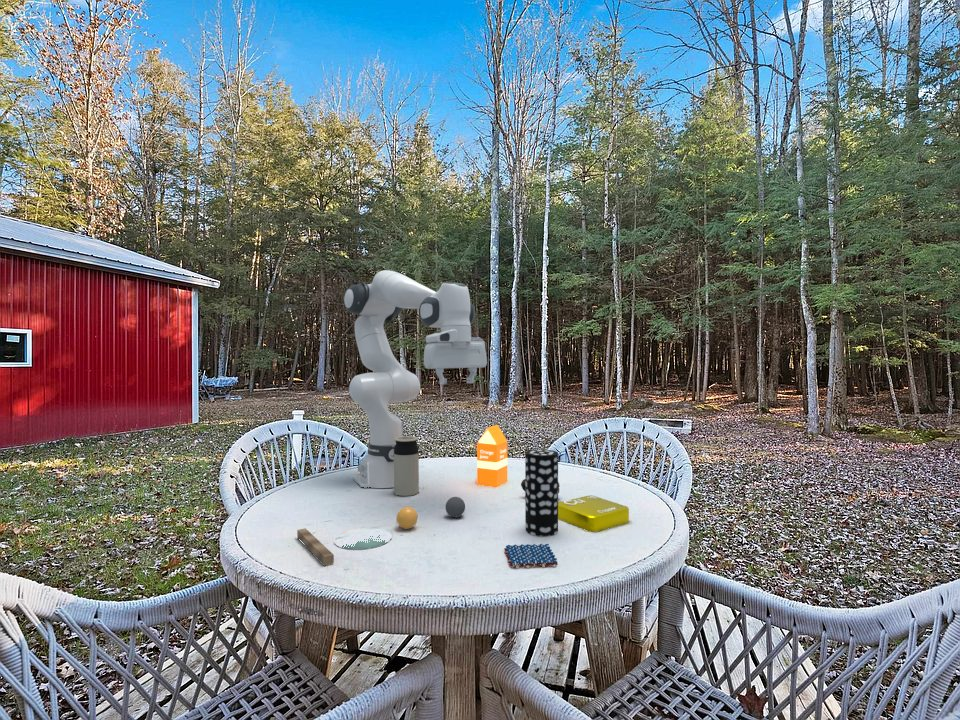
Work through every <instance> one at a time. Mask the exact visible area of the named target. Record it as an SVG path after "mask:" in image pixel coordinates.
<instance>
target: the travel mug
mask: <svg viewBox="0 0 960 720" xmlns="http://www.w3.org/2000/svg"><path fill="white" fill-rule="evenodd" d="M418 439H419V438H418V436H407V435H402V437H397V438H395V441H396V445H395V447H394V487H393V494H394V495H396V496H398V495H399V496H400V497H412V496H415V495H417V494H418V493H420V489H419V487H420V486H419V485H420V477H419V476H420V475H419V471H420V470H419V469H420V467H419V465H420V464H419V462H420V458H419V457H420V455H419V454H420V453H419V452H420V451H419V449H420V448H419V446H418V444H417V442H418Z"/></svg>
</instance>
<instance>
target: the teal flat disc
mask: <svg viewBox="0 0 960 720" xmlns="http://www.w3.org/2000/svg"><path fill="white" fill-rule="evenodd" d="M379 536H380V535H379ZM379 536H378V537H379ZM370 537H371V536H370ZM372 537H373V536H372ZM378 537H377V538H378ZM379 538H380V537H379ZM369 539H370V538H369ZM369 539H368V543H367V541H366V543H365V541H364V542H363V541H362V542H361V541H360V542H359V541H358V542H357V543H356V544H355V546H354V544H353V546H354V547H353V546H352V547H351V545H352V544H351V545H350V546H349V545H348V546H347V544H346V546H347V547H346V546H345V547H344V545H343V546H342V548H341V549H343V547H344V548H346V549H345V550H349V549H364V550H369V549H368V548H371V549H374V547H375V548H378V547H377V546H379V547H381V546H380V545H382V546H384V545H386V544H388V543H387V542H386V544H385V540H384V541H383V540H382V542H381V541H380V542H379V541H378V542H377V541H373V539H372V538H371V539H372V540H371V539H370V540H369ZM364 540H365V539H364ZM366 540H367V539H366ZM374 540H375V539H374ZM376 540H377V539H376ZM378 540H379V539H378ZM380 540H381V539H380ZM369 541H370V542H369ZM383 544H384V545H383ZM348 547H349V548H348Z"/></svg>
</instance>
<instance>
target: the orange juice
mask: <svg viewBox="0 0 960 720" xmlns="http://www.w3.org/2000/svg"><path fill="white" fill-rule="evenodd" d="M505 482H506V483H507V482H508V439H507V438H506V437H505V434H504V433H503V431H502V429H501V428H500V426H499V425H498V424H496V425H492V426H488V427H486V429H485V431H484V433H483V434H482V435H481V437H480V439H479V440H478V441H477V443H476V483H477V486H481V485H484V486H483V487H488V486H492V487H491V488H496V487H497V488H499V487H500V485H501V484H502V485H504V484H506V483H505ZM503 483H504V484H503ZM502 485H501V486H502ZM498 486H499V487H498Z"/></svg>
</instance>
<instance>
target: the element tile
mask: <svg viewBox="0 0 960 720" xmlns="http://www.w3.org/2000/svg"><path fill="white" fill-rule="evenodd" d="M558 521H562V522H564V523H567V524H569V525H571V524H572V526H575V527H576V526H577V527H576V528H579V529H581V528H582V529H581V530H584V529H585V530H584V531H586V530H587V531H586V532H590V531H591V532H590V533H598V531H599V532H602V531H605V529H606V530H609V529H613V528H616V527H619V525H620V526H622V524H623V525H626V523H627V524H628V522H630V508H629V507H628V506H626V505H623V504H620V503H618V502H614V501H611V500H607V499H605V498H601V497H599V496H596V495H591V494H590V495H585V496H581V497H576V498H572V499H568V500H563V501H558ZM615 526H616V527H615ZM612 527H613V528H612ZM608 528H609V529H608ZM601 530H602V531H601Z"/></svg>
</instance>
